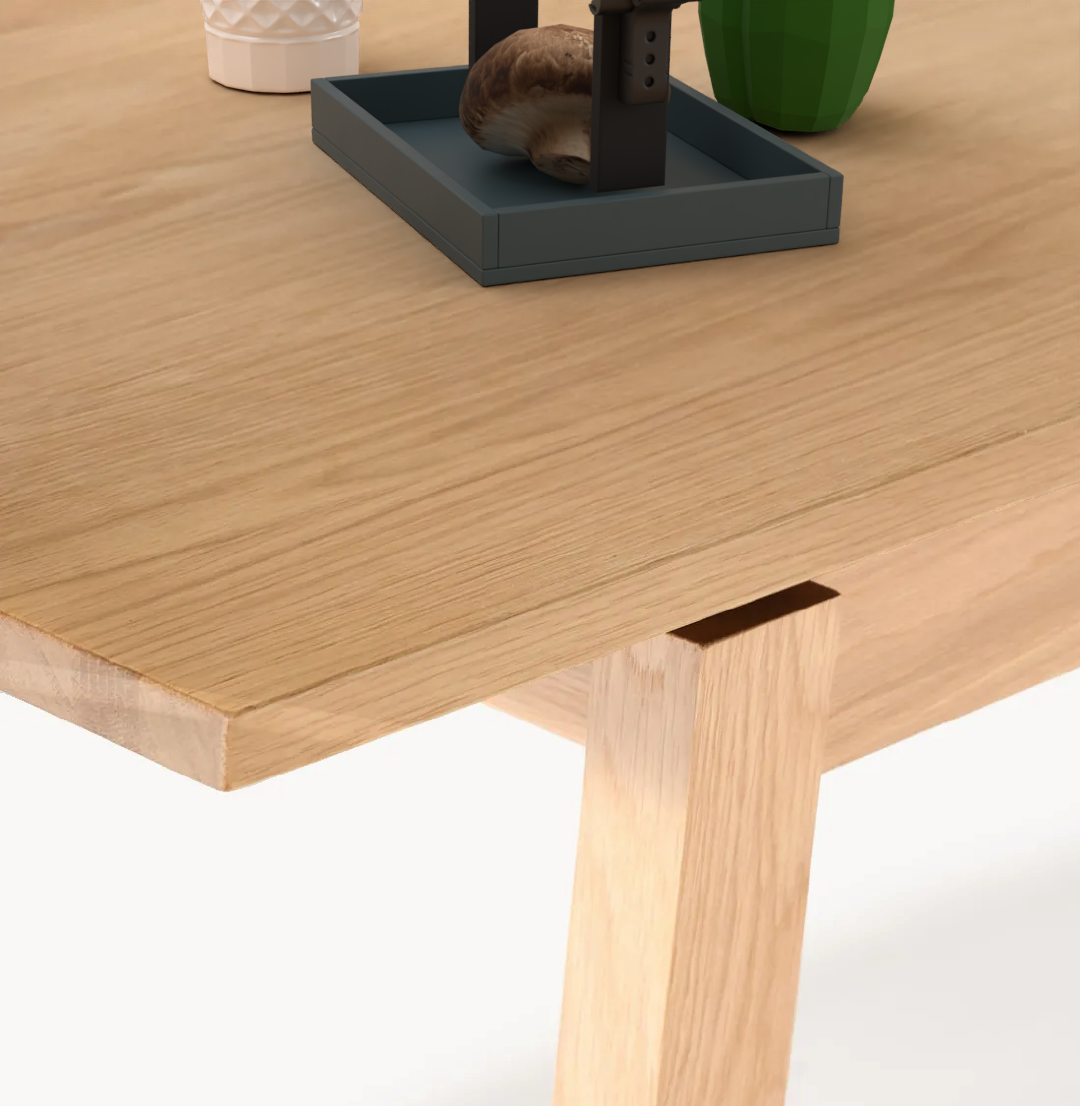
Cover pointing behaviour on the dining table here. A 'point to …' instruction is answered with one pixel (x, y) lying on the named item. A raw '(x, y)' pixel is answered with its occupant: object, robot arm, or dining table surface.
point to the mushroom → (535, 100)
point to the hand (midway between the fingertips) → (561, 142)
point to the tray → (571, 184)
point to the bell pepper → (793, 57)
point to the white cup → (281, 42)
